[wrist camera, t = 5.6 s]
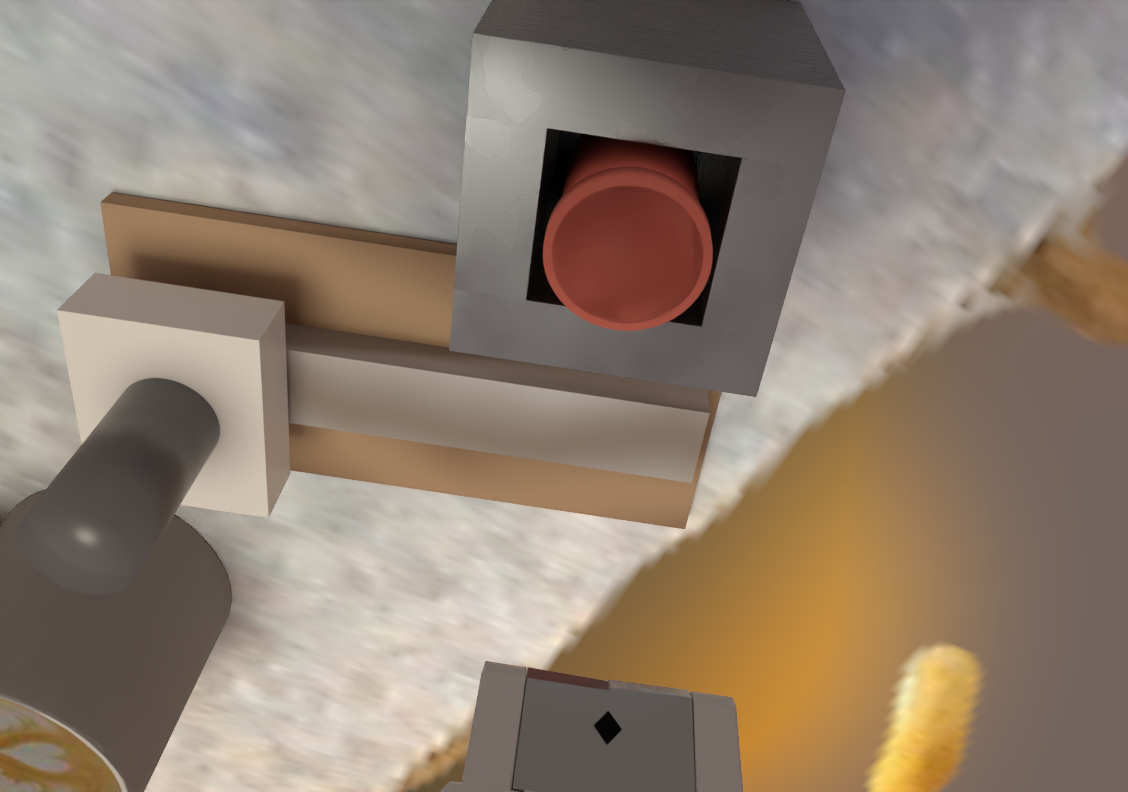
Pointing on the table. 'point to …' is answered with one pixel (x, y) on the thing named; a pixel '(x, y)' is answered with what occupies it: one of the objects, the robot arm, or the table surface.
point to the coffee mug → (101, 664)
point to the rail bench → (374, 307)
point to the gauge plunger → (628, 234)
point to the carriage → (159, 424)
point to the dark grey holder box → (655, 116)
